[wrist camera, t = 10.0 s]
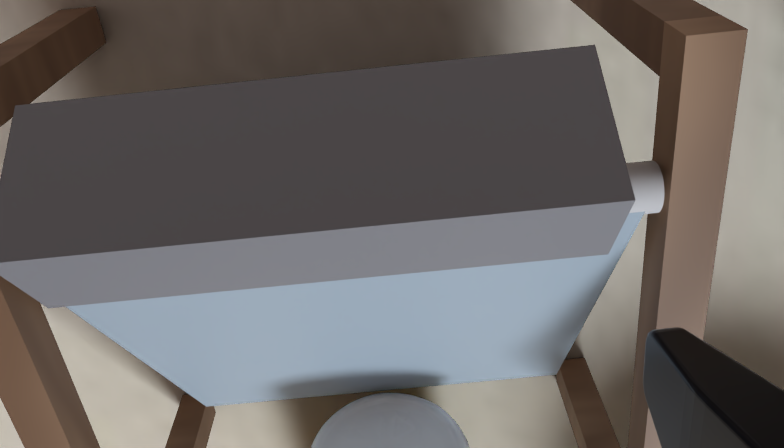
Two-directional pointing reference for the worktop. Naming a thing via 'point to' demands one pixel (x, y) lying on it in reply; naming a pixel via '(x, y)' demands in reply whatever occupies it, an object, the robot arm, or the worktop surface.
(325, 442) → the supplement bottle
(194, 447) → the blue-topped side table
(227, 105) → the grey flat block
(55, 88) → the worktop surface
